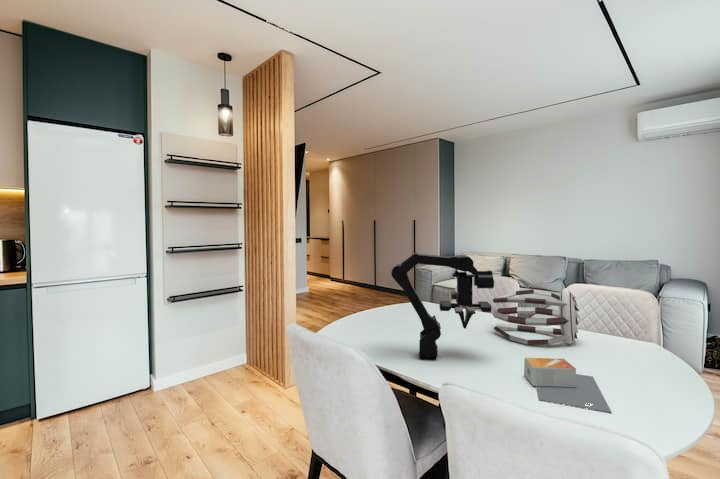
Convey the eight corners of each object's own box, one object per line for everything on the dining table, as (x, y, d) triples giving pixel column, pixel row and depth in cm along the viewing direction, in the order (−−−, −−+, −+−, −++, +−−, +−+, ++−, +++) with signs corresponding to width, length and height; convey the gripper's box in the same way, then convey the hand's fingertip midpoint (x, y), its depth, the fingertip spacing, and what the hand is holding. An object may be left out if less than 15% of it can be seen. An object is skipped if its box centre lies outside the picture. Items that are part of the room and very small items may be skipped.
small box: (524, 357, 119) (563, 358, 118) (523, 375, 119) (563, 376, 118) (533, 367, 111) (576, 368, 110) (533, 386, 111) (576, 388, 110)
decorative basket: (579, 355, 135) (487, 343, 156) (583, 337, 157) (502, 329, 178) (575, 293, 135) (484, 290, 156) (580, 284, 157) (499, 282, 178)
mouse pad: (538, 400, 103) (538, 399, 103) (533, 368, 125) (533, 367, 125) (611, 413, 96) (611, 412, 96) (592, 377, 118) (592, 376, 118)
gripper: (485, 284, 139) (485, 322, 140) (438, 284, 142) (438, 321, 143) (491, 290, 128) (491, 331, 129) (440, 289, 131) (440, 329, 132)
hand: (464, 328), depth 134 cm, fingers closed
